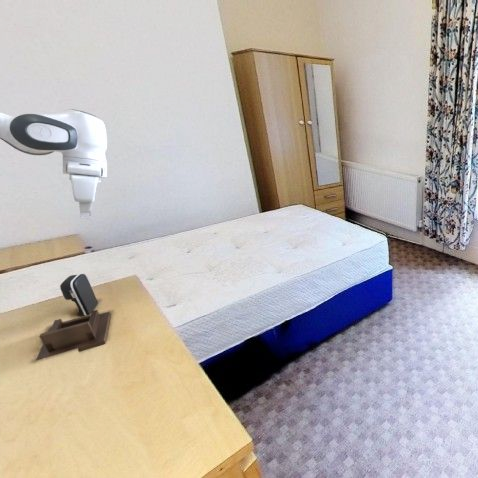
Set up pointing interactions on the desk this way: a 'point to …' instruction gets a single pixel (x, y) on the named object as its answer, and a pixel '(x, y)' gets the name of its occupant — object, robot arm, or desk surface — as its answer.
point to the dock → (75, 334)
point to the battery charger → (79, 293)
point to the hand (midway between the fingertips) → (85, 217)
